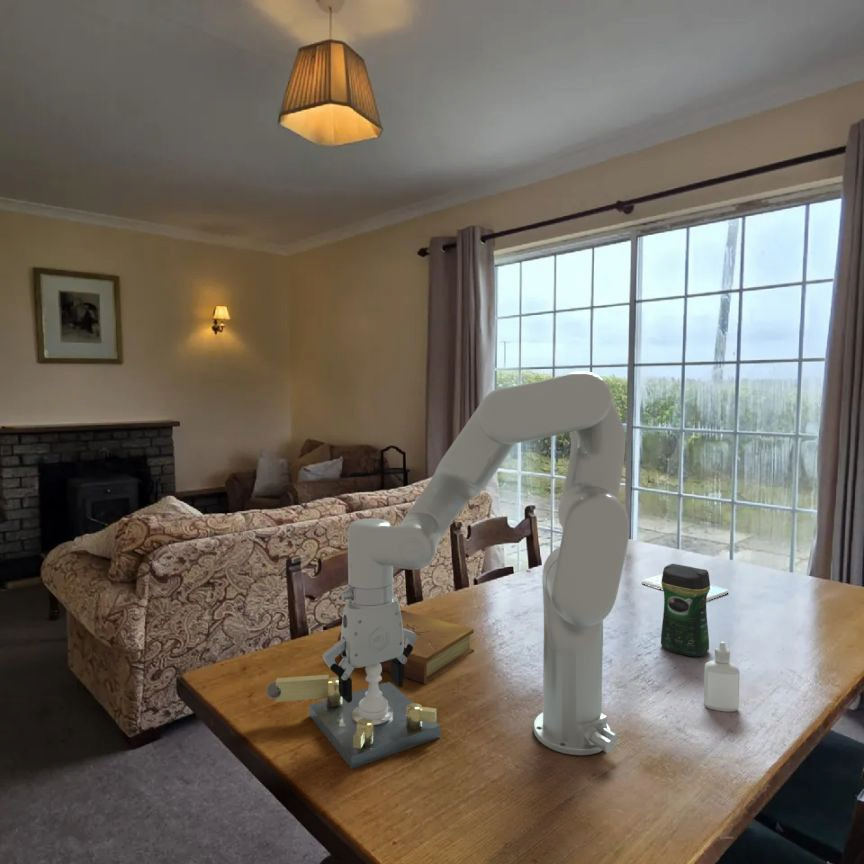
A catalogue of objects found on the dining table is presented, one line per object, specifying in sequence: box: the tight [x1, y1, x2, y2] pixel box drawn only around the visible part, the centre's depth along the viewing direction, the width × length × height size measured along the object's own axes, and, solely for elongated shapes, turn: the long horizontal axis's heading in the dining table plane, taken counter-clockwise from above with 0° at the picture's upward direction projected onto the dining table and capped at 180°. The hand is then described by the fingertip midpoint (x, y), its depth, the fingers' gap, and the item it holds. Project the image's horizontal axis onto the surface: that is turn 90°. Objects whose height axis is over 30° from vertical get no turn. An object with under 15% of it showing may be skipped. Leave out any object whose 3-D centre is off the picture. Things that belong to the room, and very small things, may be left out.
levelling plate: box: [308, 681, 441, 770], centre depth 104 cm, size 18×16×5 cm
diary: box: [337, 609, 475, 685], centre depth 133 cm, size 23×19×6 cm
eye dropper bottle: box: [703, 641, 740, 713], centre depth 110 cm, size 4×6×12 cm
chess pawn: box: [359, 663, 388, 720], centre depth 104 cm, size 5×5×9 cm
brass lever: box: [265, 674, 343, 707], centre depth 107 cm, size 13×3×5 cm, turn 98°
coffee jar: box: [660, 563, 711, 658], centre depth 134 cm, size 10×8×19 cm
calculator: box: [641, 573, 729, 602], centre depth 175 cm, size 13×20×2 cm, turn 35°
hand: (372, 691), depth 104 cm, fingers open, 9 cm apart
